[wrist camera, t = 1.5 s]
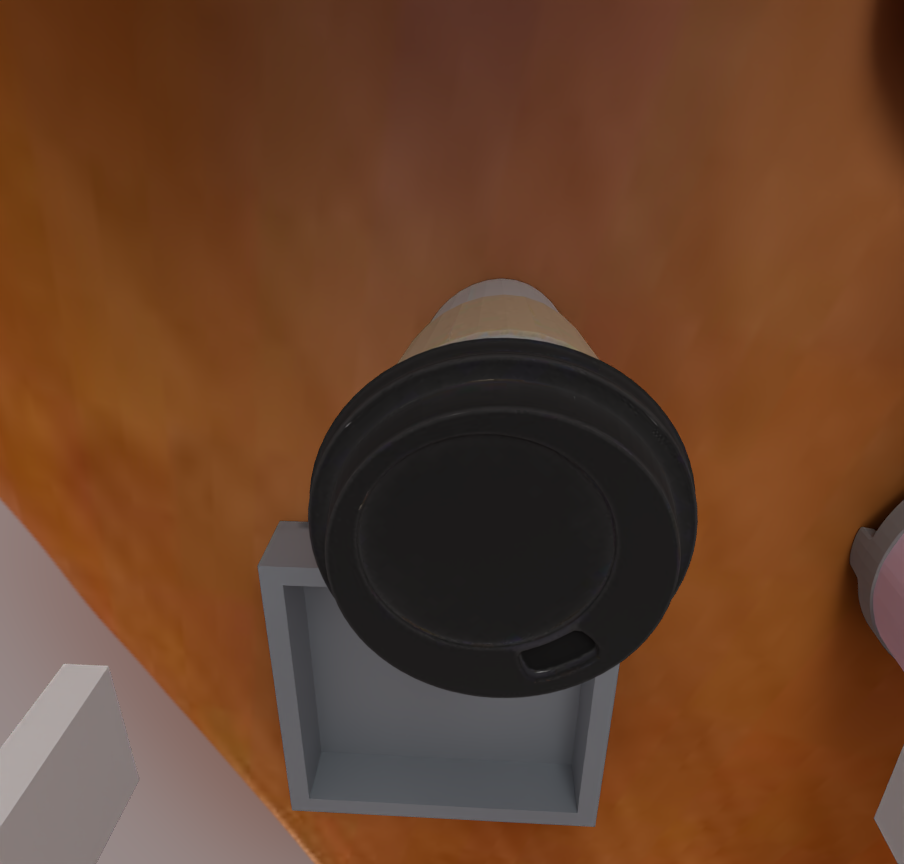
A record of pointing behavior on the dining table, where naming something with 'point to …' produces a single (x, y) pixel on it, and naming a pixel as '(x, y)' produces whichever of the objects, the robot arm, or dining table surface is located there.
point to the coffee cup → (502, 503)
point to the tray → (416, 721)
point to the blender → (882, 580)
